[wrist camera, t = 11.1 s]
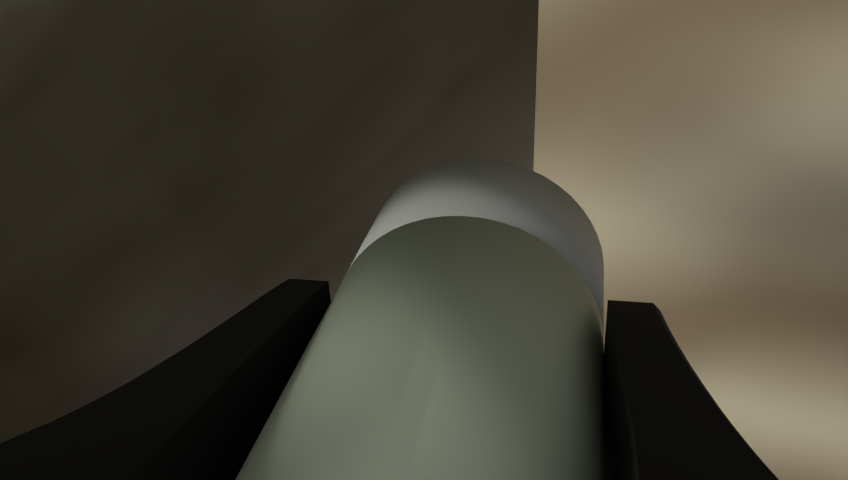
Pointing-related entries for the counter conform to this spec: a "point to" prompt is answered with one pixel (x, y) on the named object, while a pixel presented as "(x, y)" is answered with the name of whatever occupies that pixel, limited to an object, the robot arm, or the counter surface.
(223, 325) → the robot arm
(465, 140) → the counter surface
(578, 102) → the wooden cutting board
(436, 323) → the green grey capped cylinder
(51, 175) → the counter surface
